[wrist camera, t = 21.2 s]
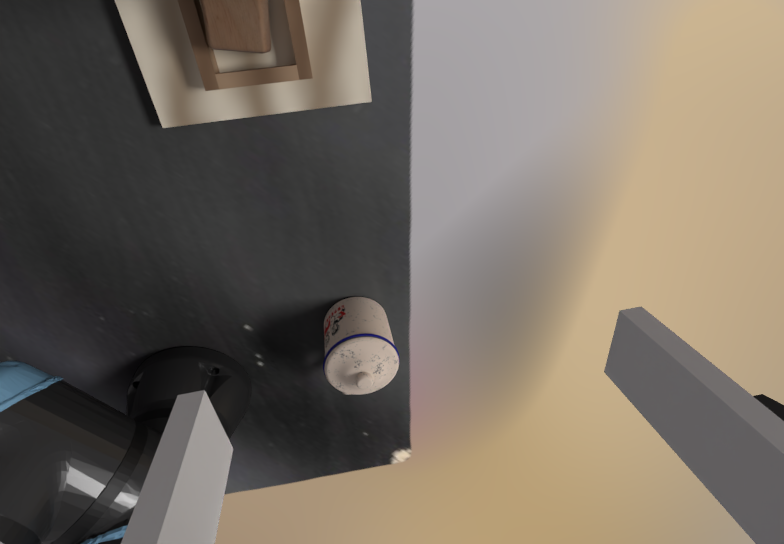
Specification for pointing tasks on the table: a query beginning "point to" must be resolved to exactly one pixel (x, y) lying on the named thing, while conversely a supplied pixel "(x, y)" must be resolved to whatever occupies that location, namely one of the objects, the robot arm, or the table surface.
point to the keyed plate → (248, 60)
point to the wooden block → (237, 25)
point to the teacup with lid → (358, 347)
